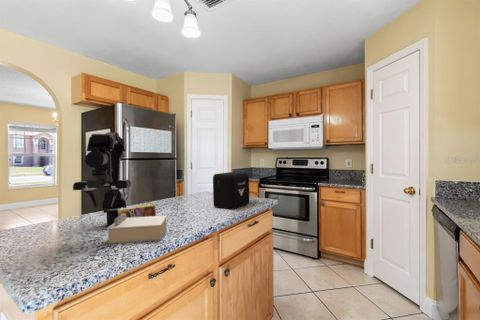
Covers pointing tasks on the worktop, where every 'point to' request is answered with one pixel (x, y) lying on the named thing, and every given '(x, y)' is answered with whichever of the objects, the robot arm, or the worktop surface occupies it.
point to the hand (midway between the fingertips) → (103, 207)
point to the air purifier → (230, 190)
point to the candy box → (138, 211)
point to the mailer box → (137, 234)
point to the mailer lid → (136, 222)
